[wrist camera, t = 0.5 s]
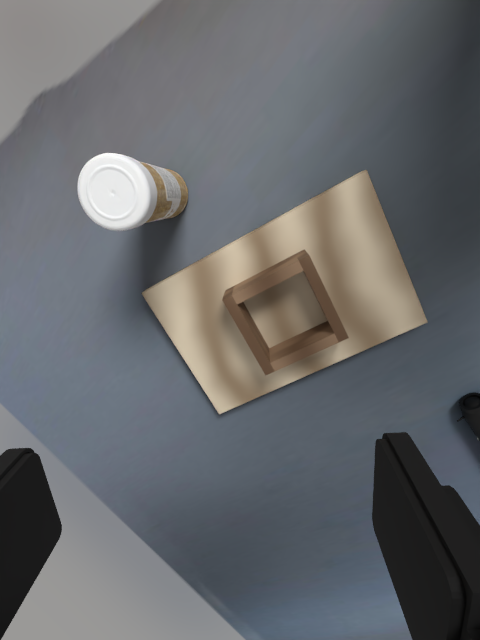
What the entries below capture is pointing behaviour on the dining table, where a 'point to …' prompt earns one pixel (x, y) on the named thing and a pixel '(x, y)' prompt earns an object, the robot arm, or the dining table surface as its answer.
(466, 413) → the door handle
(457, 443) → the dining table surface
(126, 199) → the sprinkles bottle
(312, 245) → the spice stand
